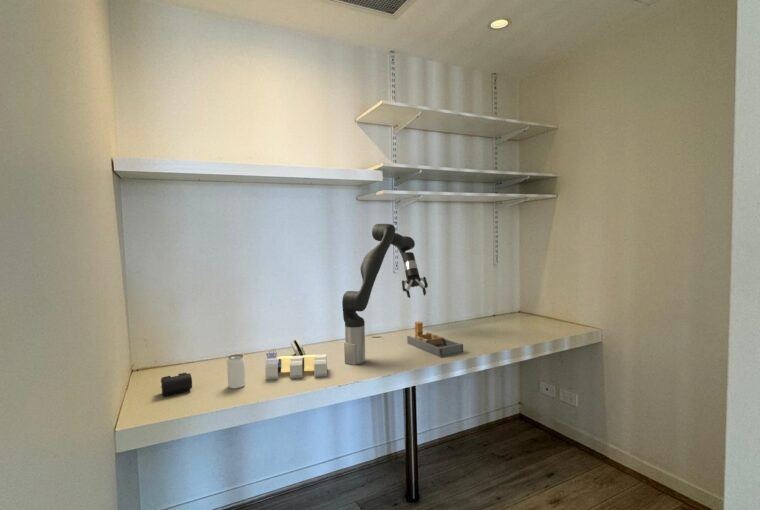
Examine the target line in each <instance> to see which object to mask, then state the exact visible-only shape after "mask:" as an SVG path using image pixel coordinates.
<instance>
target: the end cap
mask: <svg viewBox="0 0 760 510" xmlns="http://www.w3.org/2000/svg"><path fill="white" fill-rule="evenodd" d="M160 383H161V386H160V388H161V395H162V396H163V397H166V396H171V395H176V394H181V393H185V392H188V391H189V392H190V391H191V390H192V389H193V377H192V374H191V373H187V372H182V373H178V374H177V375H176V376H171V375H167V376H163V377H161V379H160Z"/></svg>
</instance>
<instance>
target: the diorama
mask: <svg viewBox="0 0 760 510" xmlns="http://www.w3.org/2000/svg"><path fill="white" fill-rule="evenodd" d="M265 355H266V358H265V371H264V373H265V379H266V380H279V373H289V377H290V379H298V378H303V372H314V373H313V375H314V378H316V377H319V378H320V377H327V374H328V372H327V371H328V357H327V356H328V355H327V354H325V353H324V354H323V353H322V354H307V355H303V356H302V355H301V356H296V355H287V356H277V355H278V352H276V348H271V350H269V351H268V353H267V352H266V353H265Z"/></svg>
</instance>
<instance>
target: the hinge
mask: <svg viewBox="0 0 760 510" xmlns="http://www.w3.org/2000/svg"><path fill="white" fill-rule="evenodd" d="M290 345H291V347H292V350H293V352H294V354H296V355H295V356H303V355H308V353H307V352H306V351H305V350H304V347H303V345H302V343H301V342H300V340H299V339H298V338H295V339H294V340H292V341H291V342H290Z"/></svg>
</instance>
